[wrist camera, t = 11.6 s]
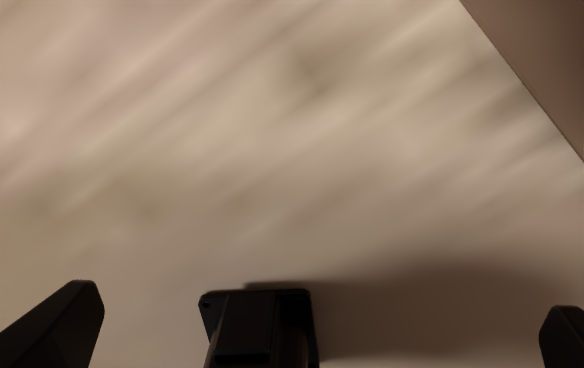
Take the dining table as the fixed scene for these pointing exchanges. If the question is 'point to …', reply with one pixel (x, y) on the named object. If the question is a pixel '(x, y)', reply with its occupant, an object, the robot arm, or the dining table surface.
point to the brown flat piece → (542, 54)
